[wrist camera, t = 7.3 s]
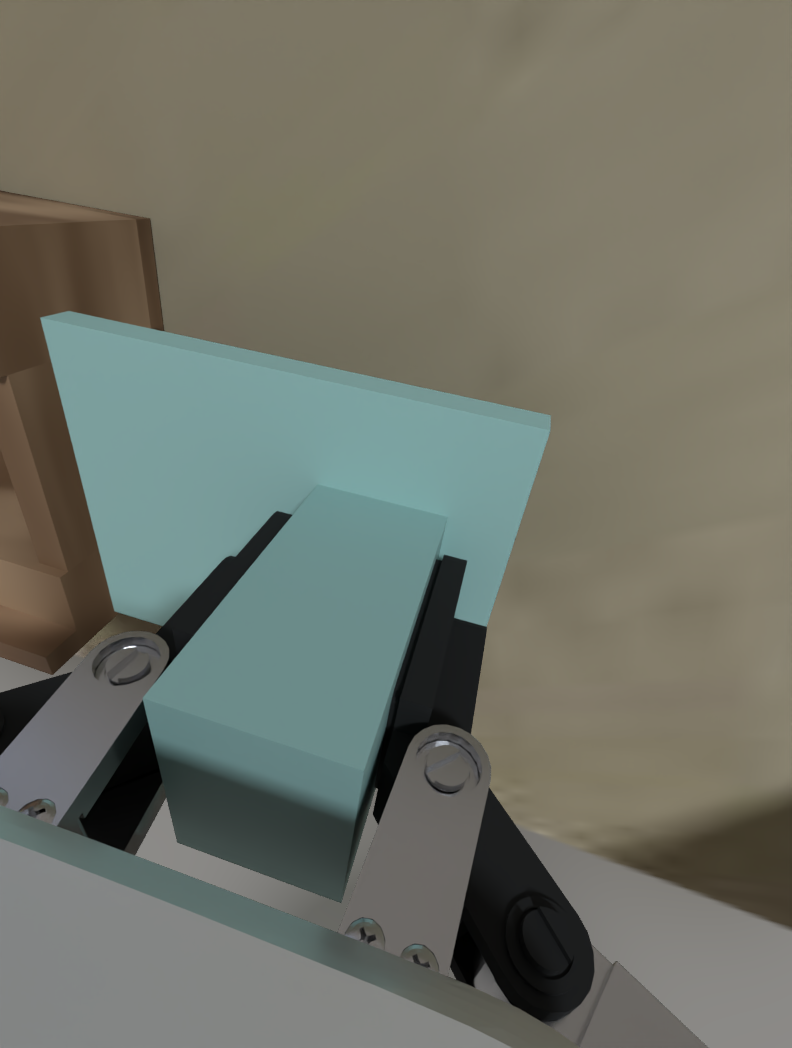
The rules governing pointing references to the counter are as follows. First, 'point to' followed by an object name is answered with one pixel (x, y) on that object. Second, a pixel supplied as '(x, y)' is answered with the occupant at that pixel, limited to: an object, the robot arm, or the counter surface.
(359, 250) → the counter surface
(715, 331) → the counter surface
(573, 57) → the counter surface
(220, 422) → the cover plate
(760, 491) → the counter surface
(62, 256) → the walnut box
